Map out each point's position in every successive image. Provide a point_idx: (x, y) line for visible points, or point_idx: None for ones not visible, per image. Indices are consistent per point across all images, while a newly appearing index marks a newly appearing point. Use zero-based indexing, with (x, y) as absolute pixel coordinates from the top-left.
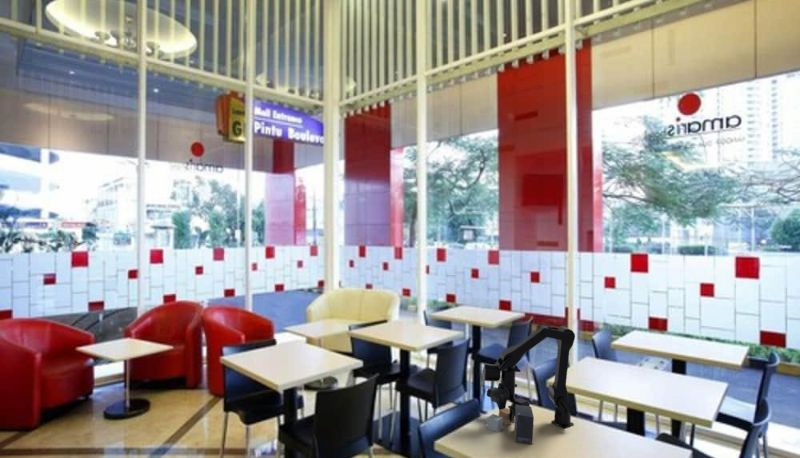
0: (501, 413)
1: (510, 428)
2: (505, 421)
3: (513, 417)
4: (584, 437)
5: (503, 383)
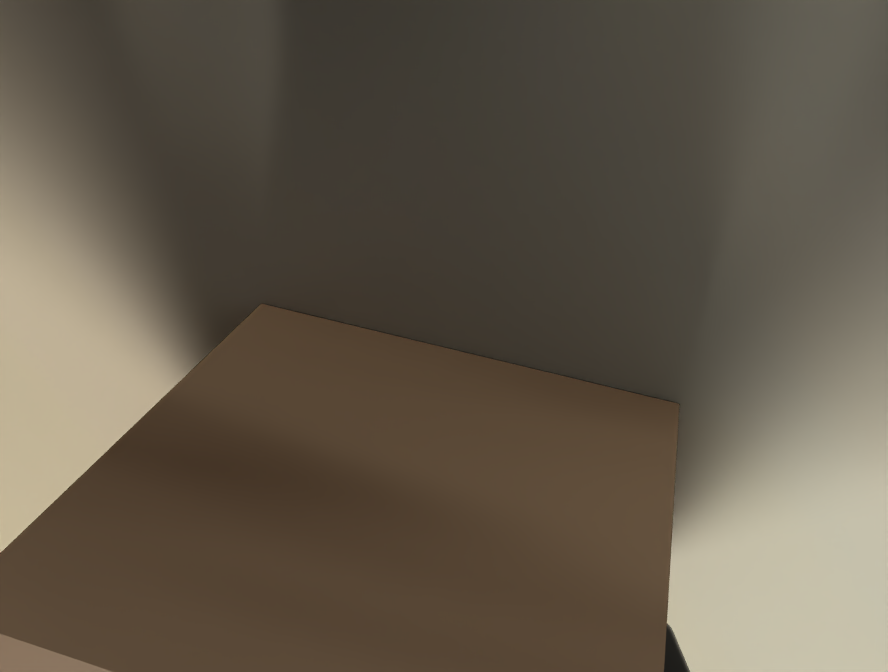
0: (455, 637)
1: (14, 147)
2: (291, 371)
3: None
4: None
5: None
